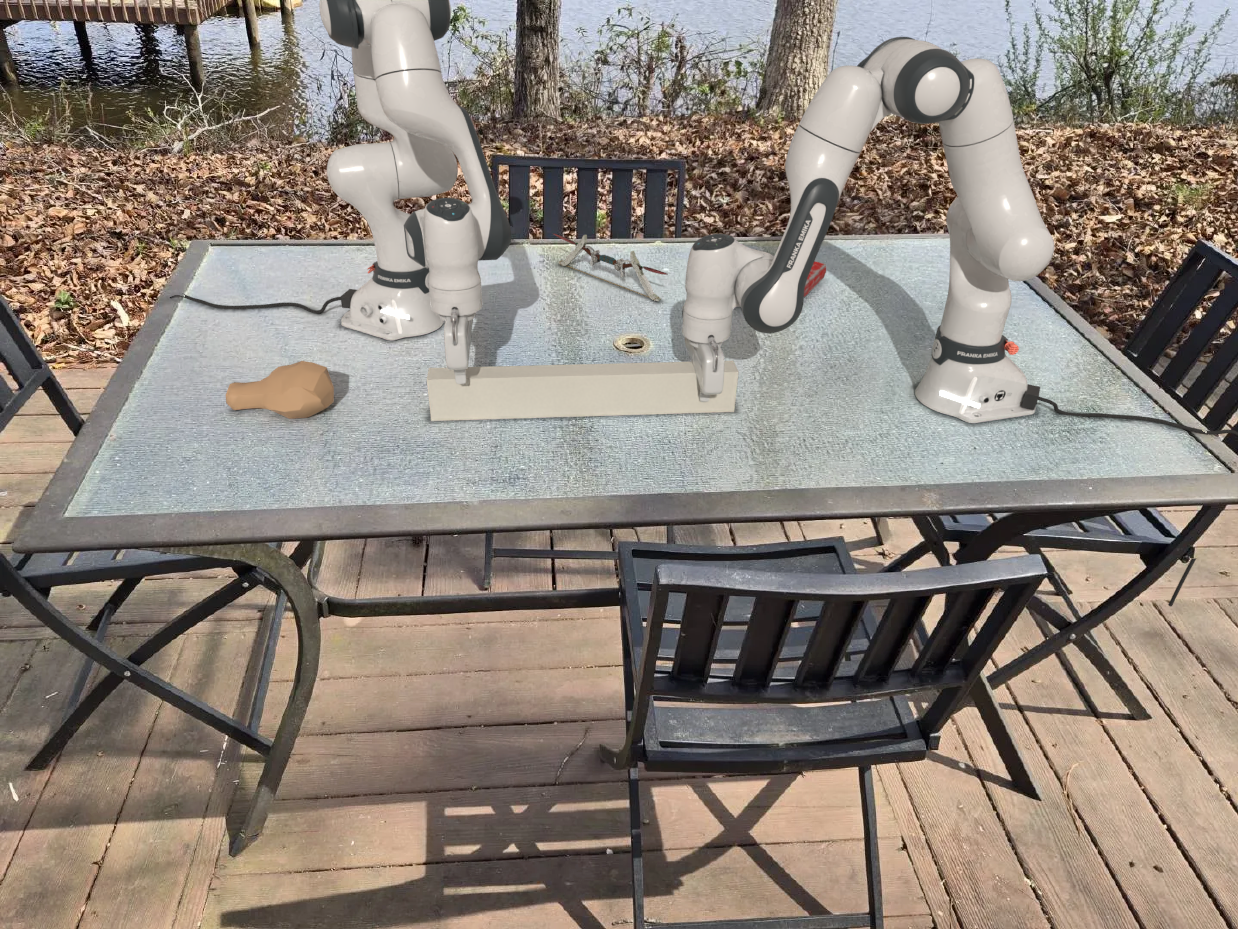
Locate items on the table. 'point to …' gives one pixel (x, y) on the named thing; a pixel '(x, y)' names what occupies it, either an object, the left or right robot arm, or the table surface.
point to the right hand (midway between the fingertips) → (700, 392)
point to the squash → (286, 391)
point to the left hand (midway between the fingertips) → (462, 370)
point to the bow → (618, 264)
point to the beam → (575, 391)
